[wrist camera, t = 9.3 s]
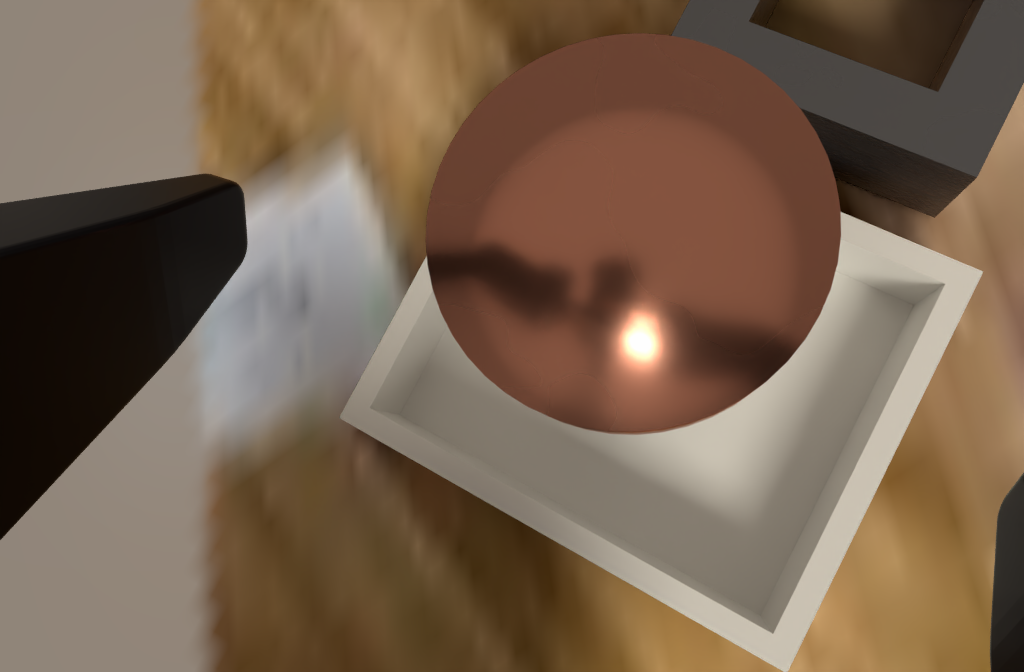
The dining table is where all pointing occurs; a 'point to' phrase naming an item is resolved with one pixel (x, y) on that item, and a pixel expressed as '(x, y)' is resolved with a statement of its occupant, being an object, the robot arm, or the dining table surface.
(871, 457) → the tray
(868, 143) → the dark grey square socket
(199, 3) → the dining table surface
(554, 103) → the pin
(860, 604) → the dining table surface
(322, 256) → the dining table surface
